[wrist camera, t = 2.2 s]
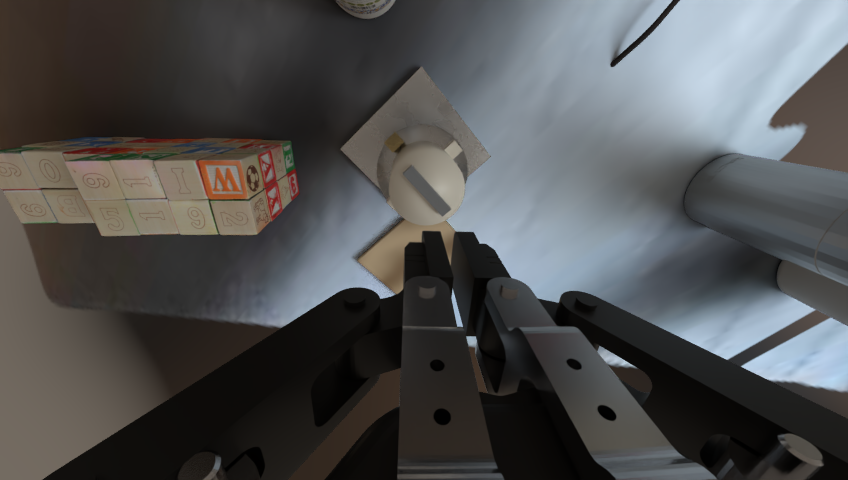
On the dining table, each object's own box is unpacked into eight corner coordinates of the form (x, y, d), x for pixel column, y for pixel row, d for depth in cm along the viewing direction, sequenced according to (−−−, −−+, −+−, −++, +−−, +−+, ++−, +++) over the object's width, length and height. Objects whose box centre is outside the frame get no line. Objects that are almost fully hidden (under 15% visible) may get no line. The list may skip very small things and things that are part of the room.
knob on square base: (488, 155, 36) (523, 179, 26) (413, 220, 39) (417, 265, 28) (421, 67, 31) (430, 53, 21) (341, 147, 34) (316, 169, 24)
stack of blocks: (110, 193, 35) (-26, 238, 24) (85, 135, 32) (-81, 156, 21) (301, 193, 36) (257, 236, 25) (292, 139, 34) (239, 160, 23)
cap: (475, 167, 25) (493, 184, 20) (411, 221, 27) (414, 250, 22) (434, 117, 24) (444, 122, 18) (369, 179, 25) (361, 200, 20)
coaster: (483, 260, 42) (484, 263, 41) (418, 309, 45) (418, 313, 44) (425, 199, 38) (426, 201, 37) (358, 257, 40) (357, 260, 40)
